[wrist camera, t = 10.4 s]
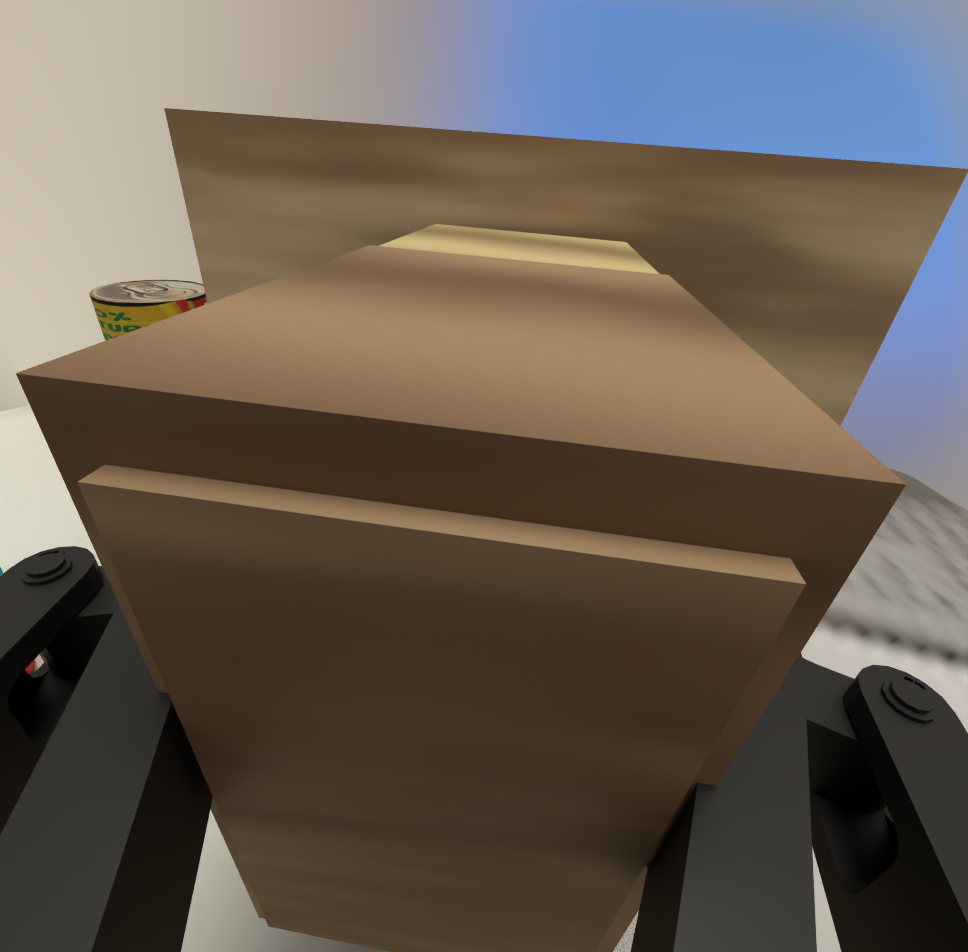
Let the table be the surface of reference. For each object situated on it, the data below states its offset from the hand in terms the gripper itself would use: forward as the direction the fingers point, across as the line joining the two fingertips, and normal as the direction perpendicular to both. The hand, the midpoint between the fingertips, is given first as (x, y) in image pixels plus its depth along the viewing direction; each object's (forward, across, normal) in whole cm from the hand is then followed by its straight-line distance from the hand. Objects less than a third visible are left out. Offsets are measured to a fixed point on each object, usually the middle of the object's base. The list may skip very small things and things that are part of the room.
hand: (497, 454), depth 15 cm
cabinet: (-2, 0, -7) cm, 7 cm away
